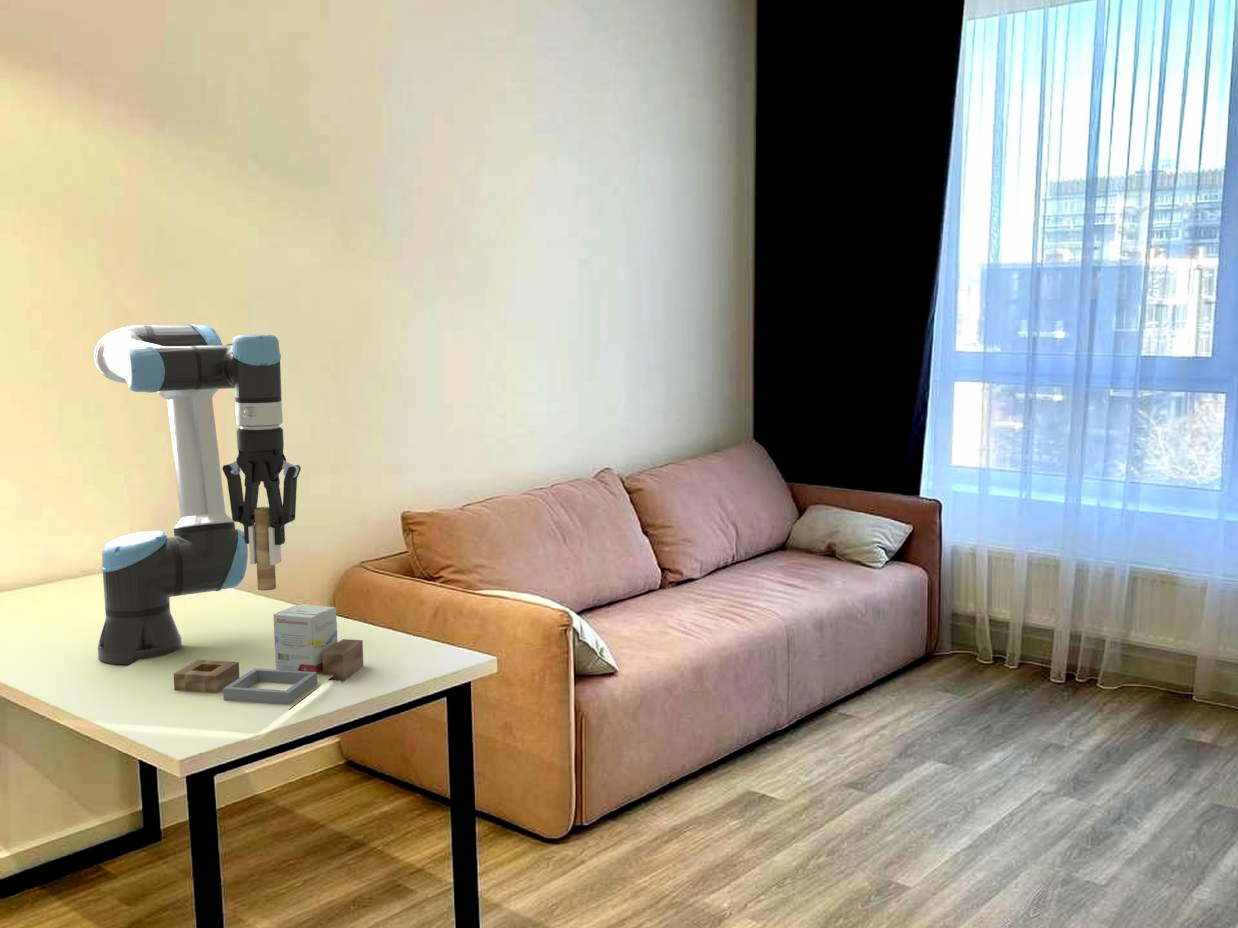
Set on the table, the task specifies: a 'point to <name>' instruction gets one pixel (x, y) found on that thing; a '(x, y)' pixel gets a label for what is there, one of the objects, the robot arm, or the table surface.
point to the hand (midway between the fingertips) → (265, 562)
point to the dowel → (263, 549)
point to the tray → (243, 693)
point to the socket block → (206, 676)
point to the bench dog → (343, 659)
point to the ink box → (304, 637)
